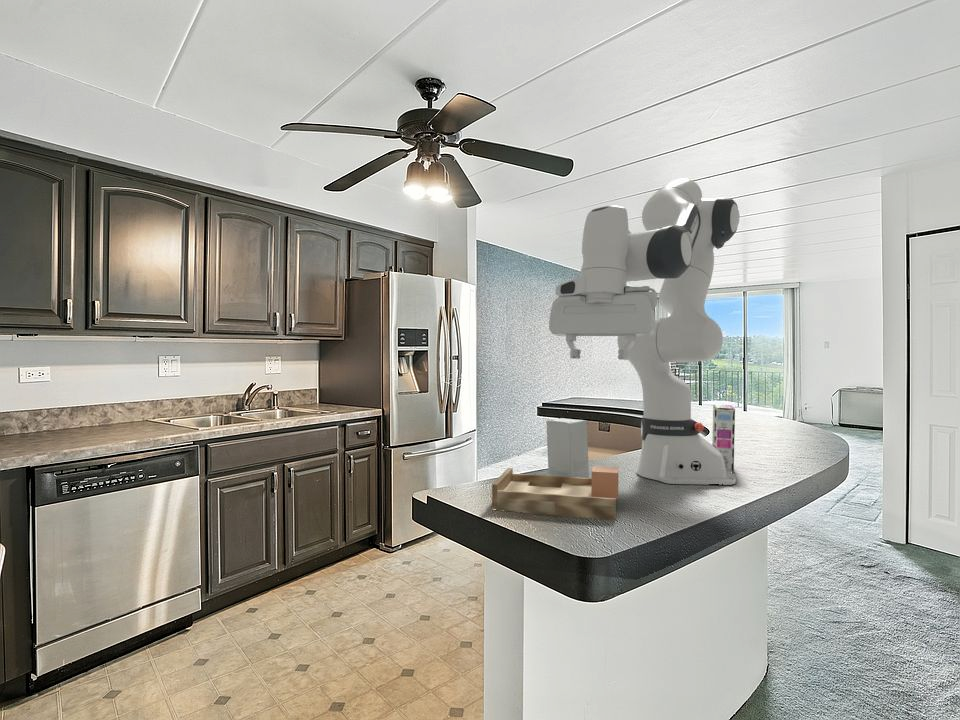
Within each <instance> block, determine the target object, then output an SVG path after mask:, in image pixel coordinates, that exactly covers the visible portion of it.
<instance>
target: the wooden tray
mask: <svg viewBox="0 0 960 720" xmlns="http://www.w3.org/2000/svg"><path fill="white" fill-rule="evenodd" d="M513 471H514V470H513V467H507V469H505V470H504V472H502V474H500V476H499V477H497V479H496V480H495V481H494V482H493V483H492V484H491V488H492V489H491V499H492V500H491V510H492V509H496V510H504V511H503V512H507V511H514V512H513V513H520V512H523V514H535V515H546V516H548V515H549V516H561V517H568V518H569V517H572V518H583V519H584V518H585V519H595V520H605V521H606V520H608V521H616V518H617V517H616V515H617V514H616V513H617V511H616V510H617V509H616V508H617V506H616V505H617V499H616V498H602V497H592V477H591V478H590V477H589V478H578V477H562V476H549V475H545V474H543V475H542V474H541V475H540V474H529V473H528V474H526V473H513Z"/></svg>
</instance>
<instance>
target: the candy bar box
mask: <svg viewBox="0 0 960 720" xmlns="http://www.w3.org/2000/svg"><path fill="white" fill-rule="evenodd" d="M735 420H736V408H735V407H734V406H732V405H727V404H712V442H711V445H713V446H714V447H715V448H716V449H717V450H719V451H720V453H721V454H722V456H723V458H724V462H725V468H726V470H727V471H729V472H733V473H732V474H734V473H735V472H734V471H735V434H736V433H735V432H736V430H735V427H736V425H735V424H736V421H735Z"/></svg>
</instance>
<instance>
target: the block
mask: <svg viewBox="0 0 960 720" xmlns="http://www.w3.org/2000/svg"><path fill="white" fill-rule="evenodd" d="M591 478H592V497H602V498H616V500H619V467H618V466H617V467H616V466H615V467H614V466H603V465H602V466H600V465H592V468H591Z"/></svg>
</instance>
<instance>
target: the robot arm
mask: <svg viewBox="0 0 960 720" xmlns="http://www.w3.org/2000/svg"><path fill="white" fill-rule="evenodd" d="M738 207H739V206H738V204H737V202H736V201H735V200H734V199H733V198H729V197H721V196H720V197H717V198H703V192H702V189H701V187H700V186H699V185H698V184H697V182H695V181H694V180H692V179H689V178H678V179H674V180H672V181H670V182H669V183H666V184H665V185H663V186H662V187H660V188H659V189H658V190H657V191H656V192H654V194H653V195H651V197H649V198H648V200H647V201H646V203H645V204H644V206H643V209H642V211H641V212H642V213H641V221H642V224H643V228H644V231H641V232H636V233H635V232H634V233H632V232H631V231H630V230H629V218H628V211H627V208H626V207H623V206H621V205H614V204H613V205H605V206H604V205H603V206H599V207H597V208H593V209H592V210H590V211H589V212H588V213H587V216H586V217H585V222H584V226H583V227H584V228H583V232H582V241H581V254H582V265H581V268H580V273H579V275H580V276H577V277H575V278H573V279H570V280H568V281H564V282H562V283H559V284H558V285H556V287H555V295H556V296H557V298H555V299H554V300H553V302H552V304H551V309H550V314H549V323H548V330H549V331H550V333H551V334H552V335H554V336H557V337H565V342H566V344H567V346H568V348H569V350H570V353H569V354H570V355H569V357H570V359H575V360H576V359H577V360H578V359H580V360H581V352H582V350H581V349H579V348H577V346H576V345H575V343H574V342H577V337H617V341H616V342H617V347H618V350H617V351H618V352H617V353H618V354H617V360H621V361H628V362H630V364H631V365H632V366H633V368H634V369H635V370H636V373H637V375H638V378H639V380H640V383H641V387H642V399H643V400H642V402H643V403H642V404H643V407H642V408H643V416H642V417H641V422H640V437H641V440H642V443H641V451H640V458H639V462H638V466H637V469H636V474H637V475H638V476H640V477H643V478H646V479H649V480H655V481H659V482H661V483H664V484H669V485H709V484H719V485H720V486H726V485H727V486H728V485H729V486H730V485H731V486H733V485H735V484H736V483H737V478H736V475H735V474H734V473H731V472H729V471H727V470H726V468H725V462H724V458H723V456H722V454H721V453H720V451H719V450H717V449H716V448H715V447H714V446H713V445H712V443H710V442H709V441H708V440H706V439H705V438H704V437H702V436H701V435H700V432H703V430H705V426H704V424H703V423H701V422H698V421H696V420H694V419H692V418H691V417H692V414H691V413H692V409H691V407H692V405H691V404H692V392H691V391H692V390H691V388H690V386H689V385H688V384H687V382H685V380H683V379H681V378H680V377H677V375H675V374H674V373H673V372H672V369H671V366H670V363H698V362H702V361H708V360H712V359H714V358H715V357H716V356H717V355H718V354H719V353H720V351H721V349H722V347H723V342H724V341H723V340H724V336H723V332H722V329H721V327H720V325H719V324H718V323H717V322H716V320H714V319H713V318H712V317H710V316H709V315H708V314H707V313H706V309H705V303H706V299H707V295H708V291H709V287H710V285H711V281H712V276H713V273H714V265H715V253H714V248H716V249H717V250H718V249H721V248H723V247H724V245H725V243H727V242H728V241H730V240H731V239H732V238H733V236H734V235H735V233H737V230H738V227H739V224H740V220H741V219H740V216H741V215H740V210H739V208H738ZM656 279H661V280H663V279H664V280H663V282H662V285H661V287H660V291H659V293H657V291H656V289H653V288H652V287H650V286H648V285H643V286H627V282H637V281H638V282H639V281H648V280H656ZM658 299H659V304H660V306H661V307H662V309H664V310H665V312H667V313H668V314H670V316H668V317H660V318H658V317H657V318H656V314H655V313H656V312H655V308H656V307H657V305H658ZM722 484H723V485H722ZM732 484H733V485H732ZM719 485H718V486H719Z"/></svg>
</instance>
